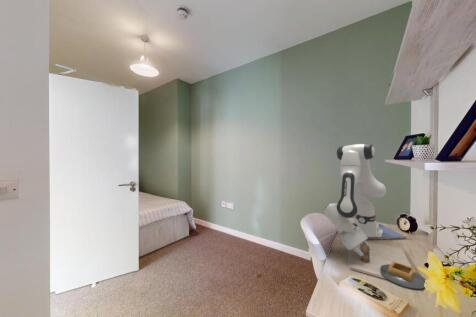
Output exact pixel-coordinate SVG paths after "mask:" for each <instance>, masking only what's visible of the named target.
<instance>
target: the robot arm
mask: <svg viewBox="0 0 476 317" xmlns="http://www.w3.org/2000/svg"><path fill="white" fill-rule="evenodd" d="M375 153H376V149H375V147H374V145H373V144H371V143H356V144H349V145H342V146H339V147H338V148H337V149H336V156H337V158H338V160H340V165H339V166H340V168H339V169H340V170H339V171H340V178H341V179H340V180H341V191H340V192H341V194H340V195H341V196H340V199H339V200H338V202H335V203H334V202H333V203H329V204H328V205H326V207H325V208H324V209H323V210H324V211H323V212H324V214H325V216H326V218H327V219H328V220H329V222H330V223H332V224H333V225H334V227H335V229H336V231H338V233H339V237H340V241H341V242H342V243H343V246H344V247H345V248H346V249H347V250H348V251H352V250H353V251H354V252H355V253H356V254H357V255H359V256H360V257H361V256H363V255H364V253H363V252H362V251H361V249H360V248H359V247H358V246H360V245H361V244H365V245H368V246H369V242H367V240H368V238H382V236H383V233H384V231H383V229H381V228H380V224H379V223H378V221H376V220H377V219H376V217H377V215H376V213H375V206H374V204H373V203H372V202H371V201H369V200H368V199H366V197H371V198H383V197H385V195H387V188H386V186H385V184H384V183H382V182H381V181H379V180H378V179H377V178H375V176H374V175H373V173H372V170H371V168H372V167H371V164H370V159H373V158H374V157H375ZM354 217H355V219H353V222H351V221H350V220H349V219H351V218H354ZM370 250H372V248H371V247H370V246H369V251H370Z"/></svg>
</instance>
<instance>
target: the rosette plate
mask: <svg viewBox="0 0 476 317" xmlns="http://www.w3.org/2000/svg"><path fill="white" fill-rule="evenodd" d="M379 270H380V271H379V272H380V274H381V276H382V277H383V276H384V279H385V280H387V281H389V282H391V283H393V284H395V285H397V286H399V287H402V288H405V289H409V290H414V291H415V290H418V291H420V290H425V289H426V288H425V287H424V283H425V280H426V278H425V277H424V276H422V275H421V274H420V273H418V272H416V268H414V267H412V266H409V265H406V264H403V263H400V262H398V261H394V260H393V261H392V262H391V263H390V264H387V263H386V264H383V265H381V266H380V268H379Z"/></svg>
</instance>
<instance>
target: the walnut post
mask: <svg viewBox="0 0 476 317" xmlns="http://www.w3.org/2000/svg"><path fill="white" fill-rule="evenodd" d="M368 245H369V244H368ZM368 245H365V244H362V243H361V244H359V247H360V248H359V249H360V251H362V252H363V253H364V255H363V256H360V260H361V262H363V261H364V263H370V262H371V260H370V258H371V257H370V250H369V247H370V246H368Z"/></svg>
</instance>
